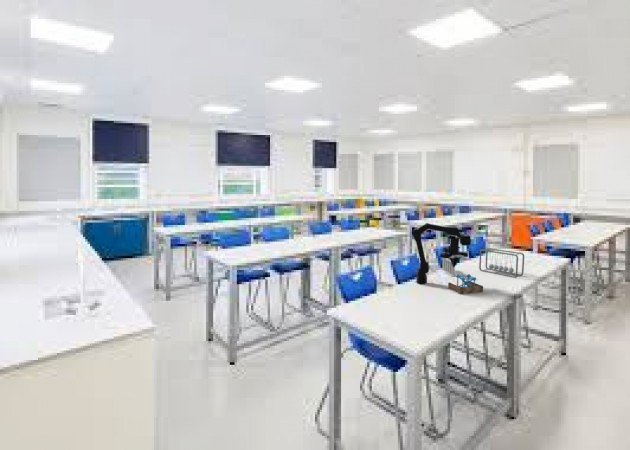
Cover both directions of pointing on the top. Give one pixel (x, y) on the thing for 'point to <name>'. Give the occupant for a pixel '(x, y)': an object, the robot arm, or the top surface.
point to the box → (466, 288)
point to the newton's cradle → (501, 263)
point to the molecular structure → (466, 280)
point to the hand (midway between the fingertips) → (453, 267)
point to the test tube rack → (448, 267)
